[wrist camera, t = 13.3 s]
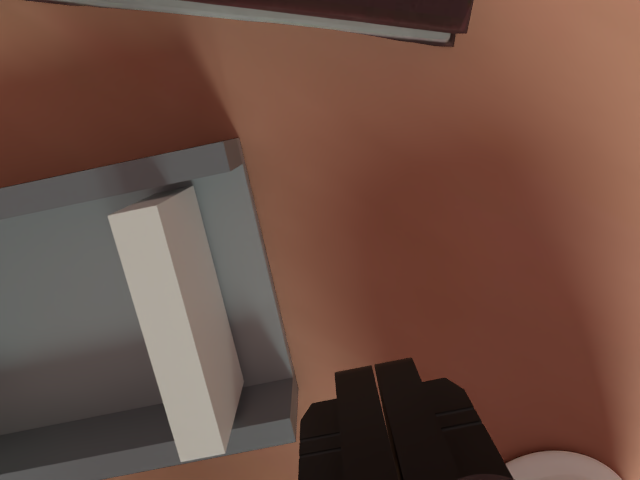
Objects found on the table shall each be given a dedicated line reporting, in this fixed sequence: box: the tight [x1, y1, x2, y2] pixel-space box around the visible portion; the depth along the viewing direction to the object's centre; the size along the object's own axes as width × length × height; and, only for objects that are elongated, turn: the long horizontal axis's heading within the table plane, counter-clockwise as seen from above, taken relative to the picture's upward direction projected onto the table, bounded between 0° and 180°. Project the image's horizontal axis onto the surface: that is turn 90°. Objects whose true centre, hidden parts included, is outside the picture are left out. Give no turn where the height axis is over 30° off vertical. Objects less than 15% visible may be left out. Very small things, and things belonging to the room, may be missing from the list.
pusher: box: [108, 186, 244, 462], centre depth 19 cm, size 8×2×5 cm, turn 12°
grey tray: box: [0, 138, 298, 480], centre depth 21 cm, size 11×20×4 cm, turn 102°
